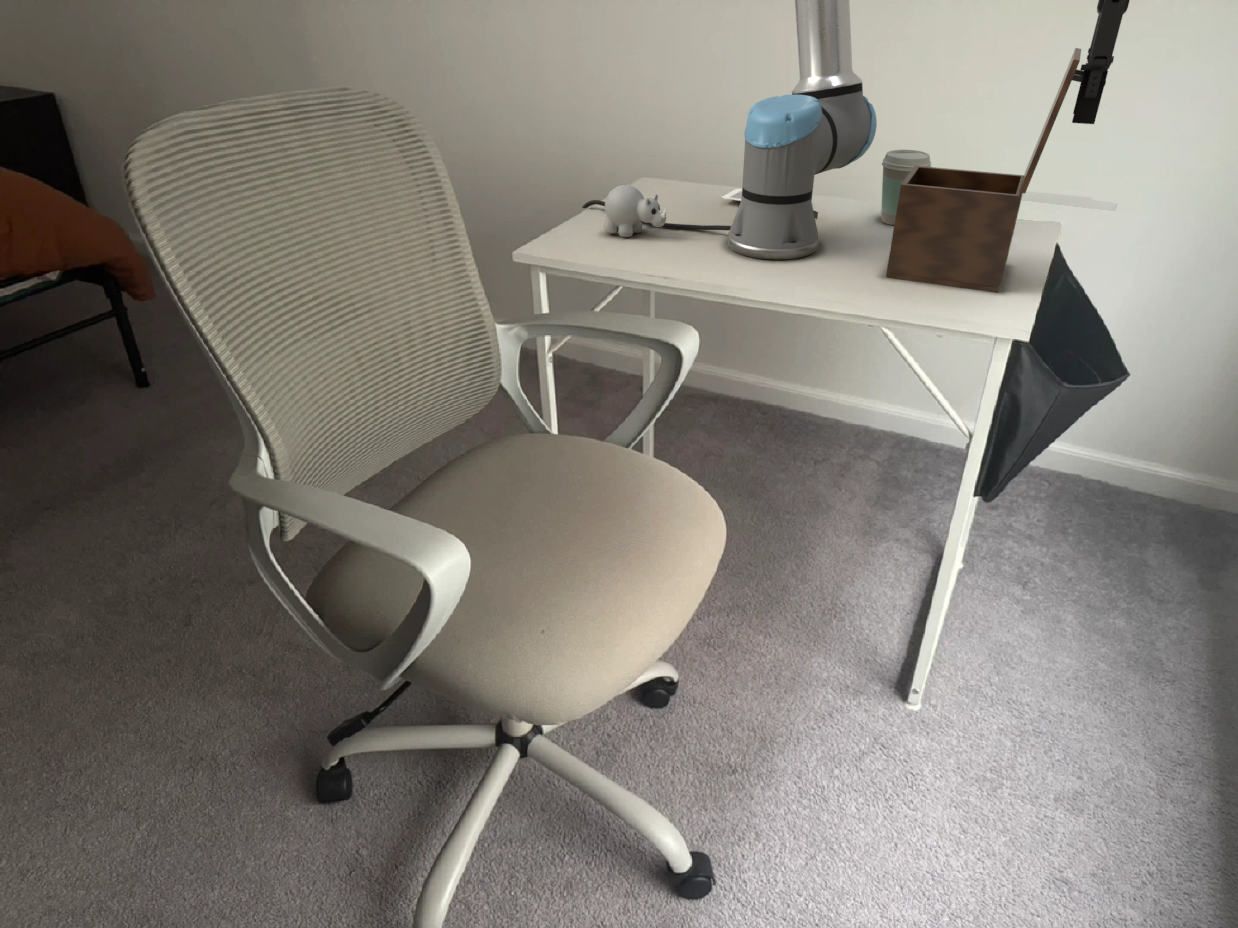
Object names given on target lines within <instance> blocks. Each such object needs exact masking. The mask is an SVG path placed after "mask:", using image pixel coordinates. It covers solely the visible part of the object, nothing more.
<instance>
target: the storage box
mask: <svg viewBox="0 0 1238 928" xmlns="http://www.w3.org/2000/svg"><path fill="white" fill-rule="evenodd" d="M1023 178H1024V174H1013V173H1003V172H1002V173H1001V172H990V171H979V170H967V169H966V170H965V169H959V168H958V169H957V168H956V169H955V168H946V167H934V166H931V167H924V166H914V168H913V169H912V170H911V172H910V173H909V174H908V176H907V177H906V178H905V180H904V181H903V183H902V184H901V187H900V193H899V199H898V205H897V211H896V217H895V224H894V225H893V230H892V235H891V242H890V250H889V254H888V261H887V268H886V274H885V277H886V278H891V279H897V280H904V281H911V282H919V283H926V284H934V285H939V286H940V285H941V286H948V287H955V288H961V289H962V288H963V289H968V290H969V289H970V290H977V291H984V292H992V293H999V292H1000V288H1001V284H1002V281H1003V277H1004V274H1005V270H1006V266H1007V262H1008V258H1009V254H1010V249H1011V245H1012V241H1013V237H1014V234H1015V233H1014V232H1015V228H1016V225H1017V220H1018V217H1019V211H1020V208H1021V203H1022V199H1023V195H1024V193H1020V188H1021V185H1022V181H1023ZM950 187H966V188H971V189H974V190H965V189H955V188H950ZM975 190H977V191H975Z"/></svg>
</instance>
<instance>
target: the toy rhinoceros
mask: <svg viewBox="0 0 1238 928" xmlns="http://www.w3.org/2000/svg"><path fill="white" fill-rule="evenodd" d="M658 198H659V195H658V194H657V193H655V194H654V195H653V197H652V198H651V197H647V198H645V197H644V195H643V193H642V192H641V190H639V189H638V188H637V187H635V186H633V185H630V184H623V185H622V184H621V185H618V186H616V187H614V188H613V189H611V191H609V192H608V194H607V196H606V198H605V201H604V202H605V206H604V211H605V214H606V217H605V219H604V222H603V231H604V233H606V234H616V233H618V235H619V236H620V237H622V238H629V237H632V236H633V234H638V233H639V234H640V233H641V232H642V231H643V223H642V222H641V221H643V222H646V223H651V224H652V225H653V227H655V228H663V227H662V226H663V225H664V224H665V223H667V222H666V221H667V214H668V213H667V209H666V207H663V210H662V209H661V205H660V203H659V202H658ZM652 225H651V226H652Z"/></svg>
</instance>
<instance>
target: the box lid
mask: <svg viewBox="0 0 1238 928" xmlns="http://www.w3.org/2000/svg"><path fill="white" fill-rule="evenodd" d="M1081 56H1082V48H1078V47H1075V48H1074V51H1073V54H1072V56H1071V57H1070V60H1069V63H1068V65H1067V68H1066V70H1065V73H1064V75H1063V78H1062V80H1061V82H1060V85H1059V87H1058V90H1057V92H1056V94H1055V97H1054V100H1053V102H1052V104H1051V107H1050V109H1049V112H1048V115H1047V117H1046V119H1045V122H1044V124H1043V127H1042V129H1041V132H1040V134H1039V136H1038V139H1037V140H1036V141H1037V142H1036V144H1035V147H1034V149H1033V151H1032V154H1031V157H1030V159H1029V161H1028V163H1027V166H1026V168H1025V171H1024V174H1023V175H1024V178H1023V181H1022V185H1021V188H1020V193H1023V195H1024V194H1025V195H1026V192H1027V190H1028V188H1029V185H1030V183H1031V181H1032V178H1033V176H1034V173H1035V171H1036V169H1037V166H1038V164H1039V161H1040V159H1041V156H1042V154H1043V151H1044V149H1045V146H1046V144H1047V141H1048V139H1049V137H1050V135H1051V132H1052V130H1053V127H1054V124H1055V122H1056V119H1057V117H1058V115H1059V113H1060V110H1061V108H1062V106H1063V103H1064V100H1065V98H1066V95H1067V93H1068V90H1069V88H1070V86H1071V83H1072V81H1074V82H1078V83H1081V82H1082V81H1083V77H1084V73H1085V71H1084V70H1080V69H1078V66H1079V64H1080V62H1081ZM1106 84H1107V80H1106V81H1105V85H1104V87H1105V86H1106Z"/></svg>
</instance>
